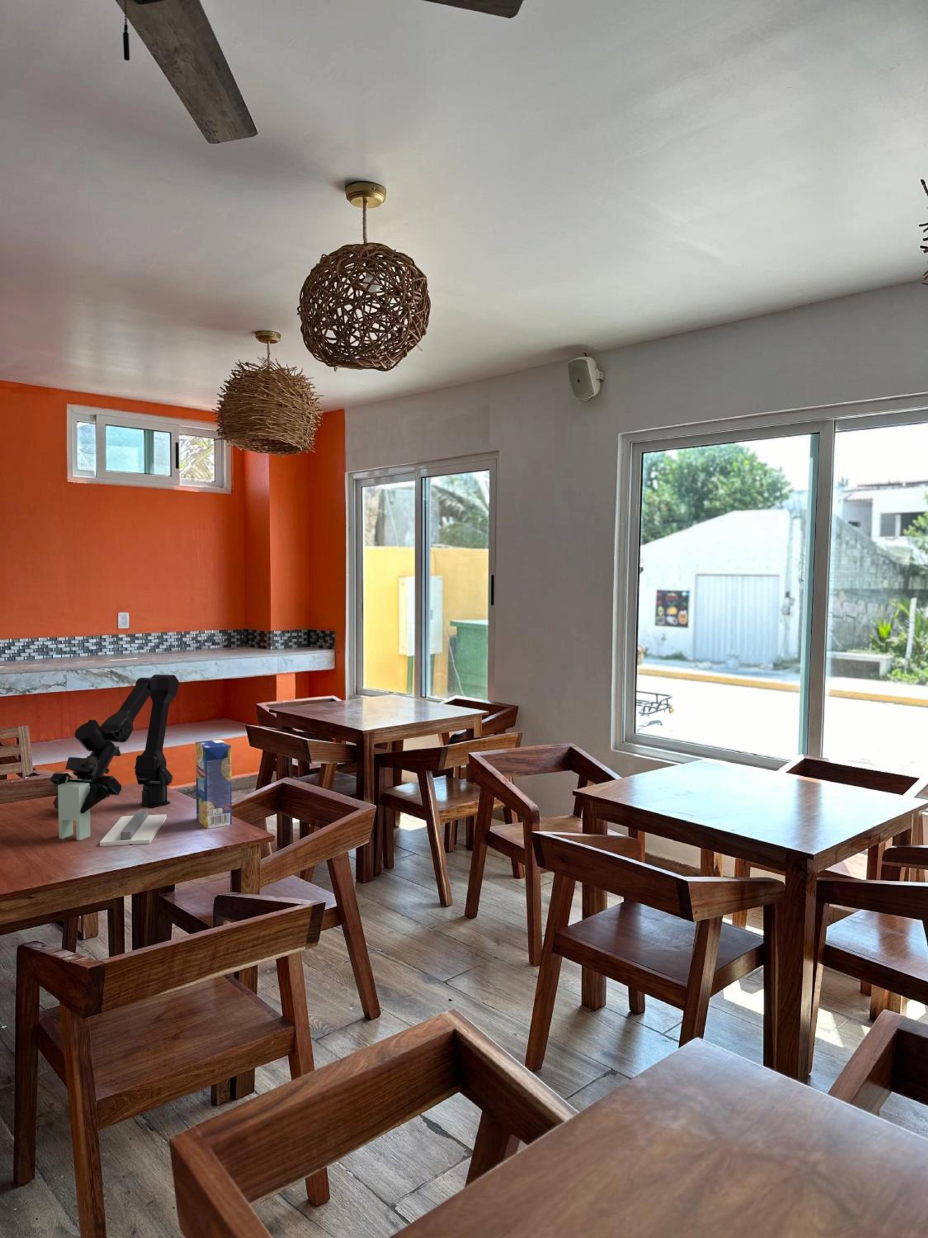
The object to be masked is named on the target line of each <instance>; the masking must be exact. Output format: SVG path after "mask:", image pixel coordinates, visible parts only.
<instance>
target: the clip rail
mask: <svg viewBox="0 0 928 1238" xmlns="http://www.w3.org/2000/svg"><path fill="white" fill-rule="evenodd" d="M166 820H167V813H166V814H149V809H148V808H143V809H142V808H141V809H138V810H137V811H136V813H135V814H134V815H125V816H124V815H123V816H121V817H120V818H119V819H118V821H116V823H115V824H114V825H113V826H112V827H111V828H110V829H109V831H108V832H107V833H106V834H105V836H103V838H102V839H101V840H100V841H99V847H108V846H110V847H112V846H113V847H114V846H128V845H129V844H133V845H143V844H144V845H150V844H151V843H152V841H153V839H154V837H155V836H156V835H157V834H158V832H159V830H160V829H161V827H162V826H163V824H164V823H165V821H166Z"/></svg>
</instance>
